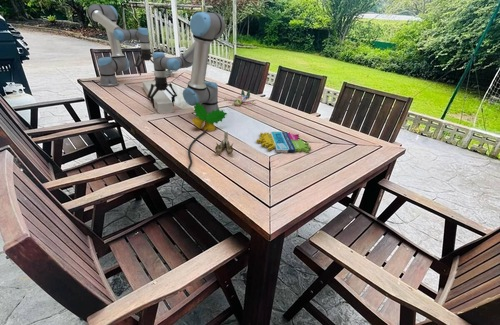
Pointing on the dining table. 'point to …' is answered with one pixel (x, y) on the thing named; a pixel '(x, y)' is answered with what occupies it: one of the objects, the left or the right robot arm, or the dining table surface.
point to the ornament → (207, 117)
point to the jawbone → (224, 145)
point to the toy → (241, 99)
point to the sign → (283, 142)
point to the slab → (159, 98)
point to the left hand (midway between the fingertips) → (148, 75)
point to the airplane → (168, 73)
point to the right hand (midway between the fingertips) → (163, 106)
